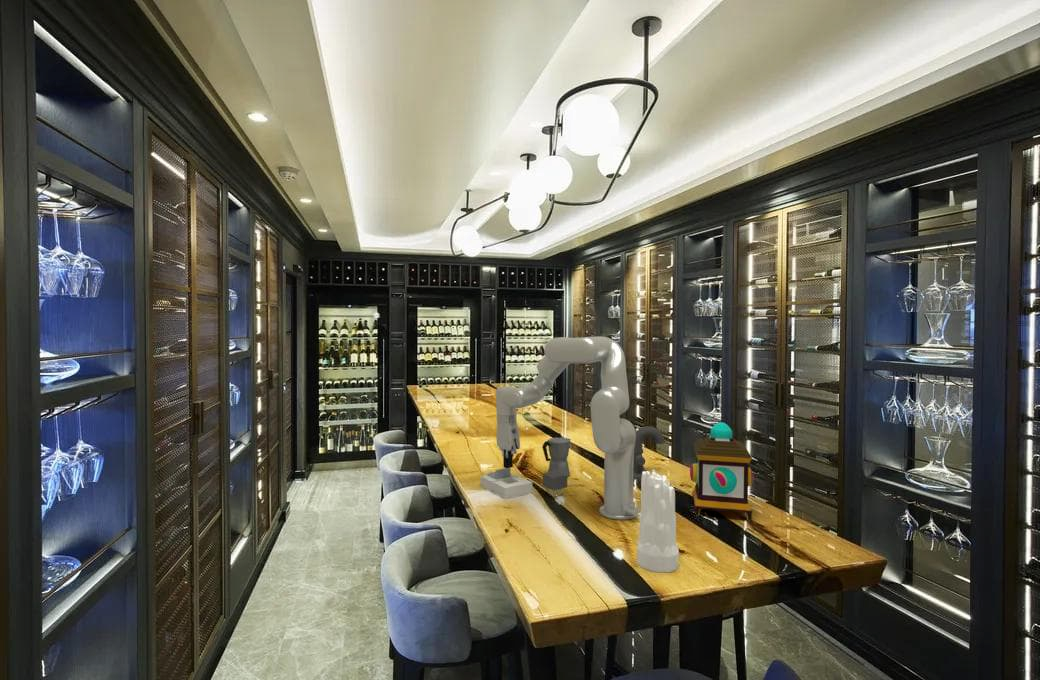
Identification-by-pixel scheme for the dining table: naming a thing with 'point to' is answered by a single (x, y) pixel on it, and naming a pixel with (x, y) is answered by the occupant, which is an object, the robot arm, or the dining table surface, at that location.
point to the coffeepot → (557, 454)
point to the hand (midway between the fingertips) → (508, 467)
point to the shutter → (500, 473)
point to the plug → (555, 482)
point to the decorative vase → (657, 525)
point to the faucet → (638, 450)
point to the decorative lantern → (721, 473)
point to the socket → (507, 486)
